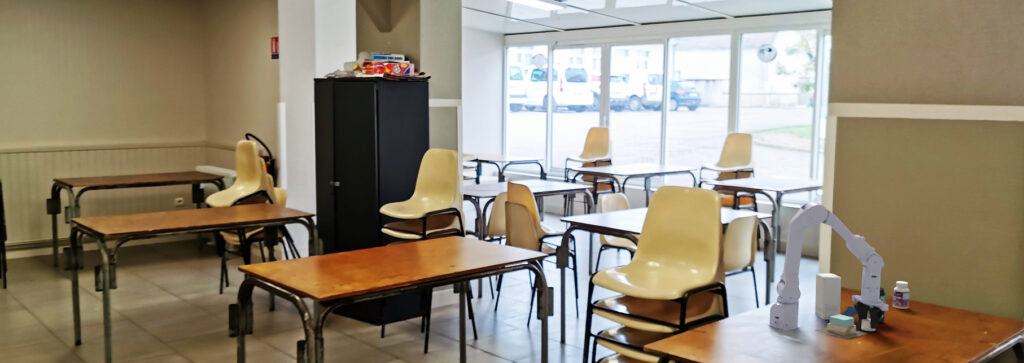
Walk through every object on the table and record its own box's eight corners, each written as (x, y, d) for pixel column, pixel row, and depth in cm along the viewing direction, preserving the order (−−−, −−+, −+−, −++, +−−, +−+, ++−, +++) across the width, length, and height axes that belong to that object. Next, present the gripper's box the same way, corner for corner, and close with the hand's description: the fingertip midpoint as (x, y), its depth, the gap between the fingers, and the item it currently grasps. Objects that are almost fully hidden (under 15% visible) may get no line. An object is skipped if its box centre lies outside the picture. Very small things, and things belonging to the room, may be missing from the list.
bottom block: (844, 335, 273) (844, 328, 272) (826, 331, 278) (827, 323, 278) (855, 332, 276) (856, 325, 276) (838, 328, 282) (838, 321, 281)
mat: (846, 340, 269) (846, 339, 269) (814, 331, 279) (814, 330, 279) (867, 334, 276) (867, 333, 276) (835, 326, 286) (835, 325, 286)
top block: (844, 327, 273) (844, 320, 273) (829, 323, 278) (829, 316, 277) (853, 325, 276) (854, 318, 276) (839, 321, 281) (839, 314, 281)
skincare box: (840, 320, 293) (842, 277, 292) (821, 320, 293) (823, 277, 292) (831, 314, 302) (833, 272, 300) (813, 314, 302) (815, 272, 300)
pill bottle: (889, 306, 316) (891, 281, 315) (900, 305, 318) (902, 280, 317) (900, 309, 311) (901, 284, 310) (911, 308, 313) (913, 283, 312)
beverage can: (880, 319, 297) (882, 286, 295) (887, 324, 290) (889, 290, 288) (860, 318, 297) (861, 285, 296) (866, 323, 290) (868, 290, 289)
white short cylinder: (870, 333, 278) (871, 323, 278) (858, 330, 282) (859, 320, 281) (877, 331, 281) (878, 321, 280) (865, 328, 284) (866, 318, 284)
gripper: (896, 291, 274) (894, 331, 276) (864, 282, 288) (862, 320, 289) (879, 292, 272) (877, 333, 273) (848, 283, 285) (845, 321, 287)
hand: (868, 326), depth 281 cm, fingers closed on white short cylinder, 4 cm apart
